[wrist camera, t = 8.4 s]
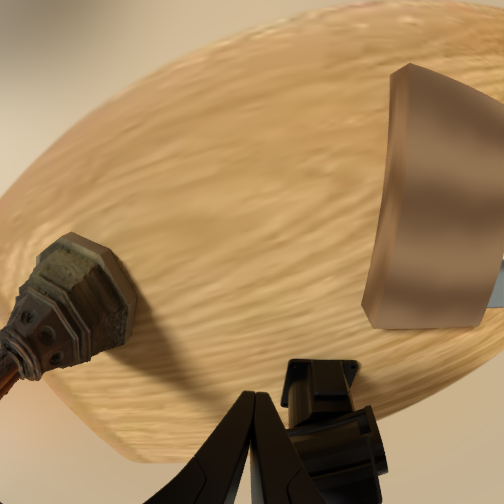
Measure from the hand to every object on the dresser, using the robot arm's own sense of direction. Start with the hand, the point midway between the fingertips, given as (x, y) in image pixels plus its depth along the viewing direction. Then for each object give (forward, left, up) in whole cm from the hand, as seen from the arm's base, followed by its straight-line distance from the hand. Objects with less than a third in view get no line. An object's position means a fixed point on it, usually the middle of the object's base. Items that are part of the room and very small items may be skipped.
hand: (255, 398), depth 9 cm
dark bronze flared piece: (-3, +15, -13) cm, 20 cm away
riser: (+6, -13, -13) cm, 20 cm away
